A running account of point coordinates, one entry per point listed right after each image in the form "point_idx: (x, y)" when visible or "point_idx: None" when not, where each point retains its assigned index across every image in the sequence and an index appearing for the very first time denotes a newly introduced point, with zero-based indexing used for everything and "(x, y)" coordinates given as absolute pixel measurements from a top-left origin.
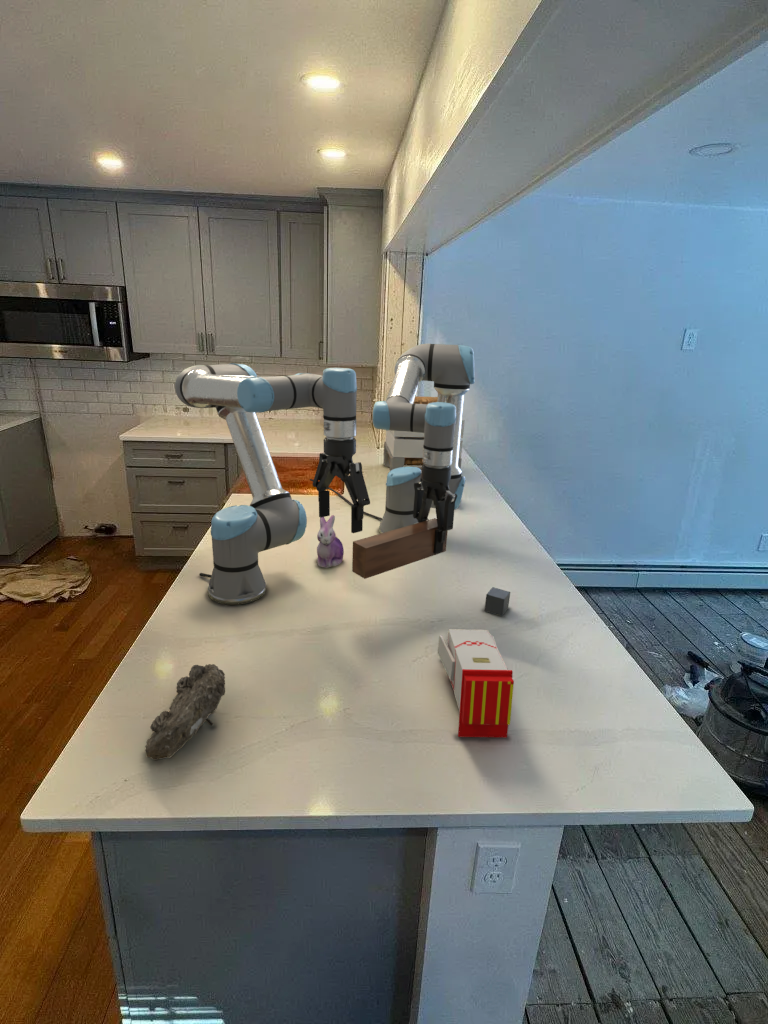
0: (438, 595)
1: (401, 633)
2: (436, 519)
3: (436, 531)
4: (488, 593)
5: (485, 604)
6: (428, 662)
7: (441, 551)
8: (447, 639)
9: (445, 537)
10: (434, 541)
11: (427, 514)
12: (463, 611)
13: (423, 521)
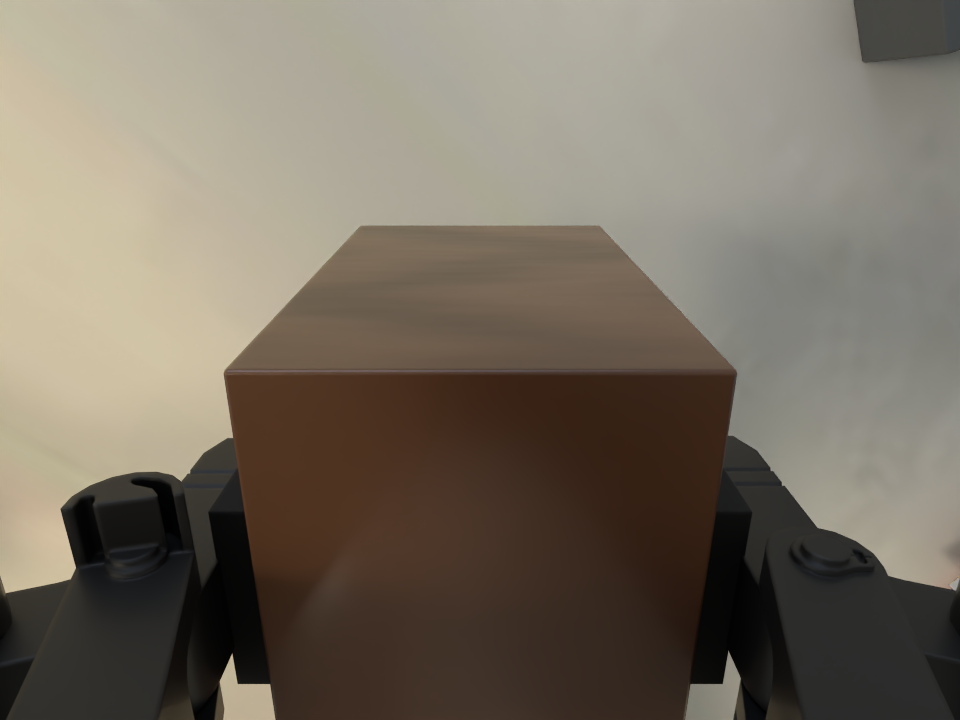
0: (508, 163)
1: None
2: (325, 404)
3: (696, 672)
4: (955, 24)
5: (894, 58)
6: None
7: None
8: (953, 589)
9: (777, 478)
10: None
11: (171, 712)
12: (758, 189)
13: (279, 710)
